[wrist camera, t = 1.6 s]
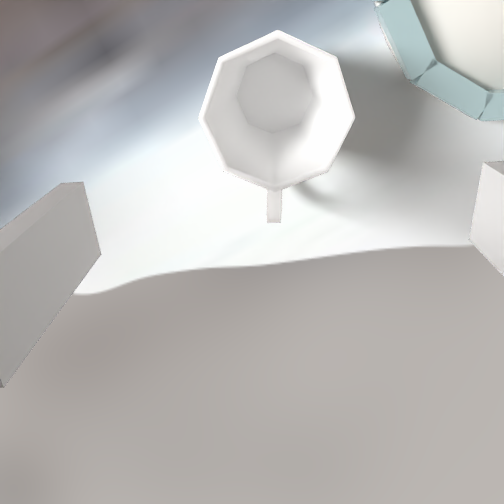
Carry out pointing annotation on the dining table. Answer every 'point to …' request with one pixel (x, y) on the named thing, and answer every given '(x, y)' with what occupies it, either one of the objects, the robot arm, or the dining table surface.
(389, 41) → the saucer
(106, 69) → the dining table surface
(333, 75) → the cup
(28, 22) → the dining table surface
